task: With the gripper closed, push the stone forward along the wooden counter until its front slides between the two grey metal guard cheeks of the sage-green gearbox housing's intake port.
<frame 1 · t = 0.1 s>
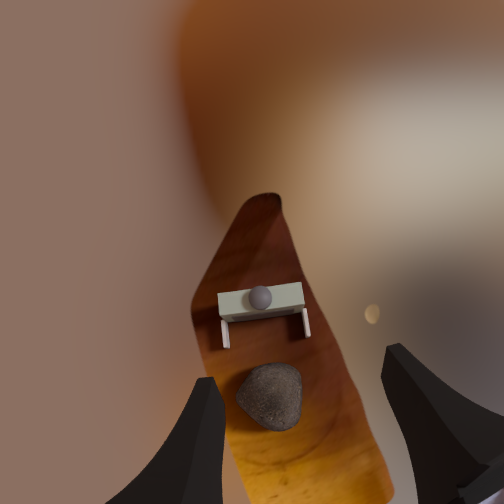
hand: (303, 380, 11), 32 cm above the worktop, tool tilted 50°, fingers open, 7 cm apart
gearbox: (266, 330, 43), on the worktop
stone: (274, 395, 40), on the worktop
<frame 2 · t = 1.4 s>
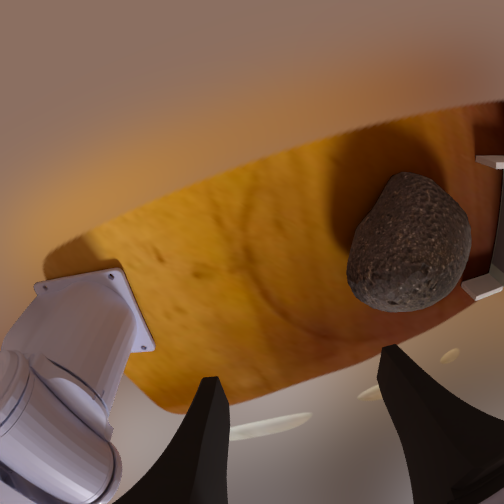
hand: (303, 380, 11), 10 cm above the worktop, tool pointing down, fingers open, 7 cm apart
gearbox: (485, 223, 20), on the worktop
stone: (396, 237, 21), on the worktop
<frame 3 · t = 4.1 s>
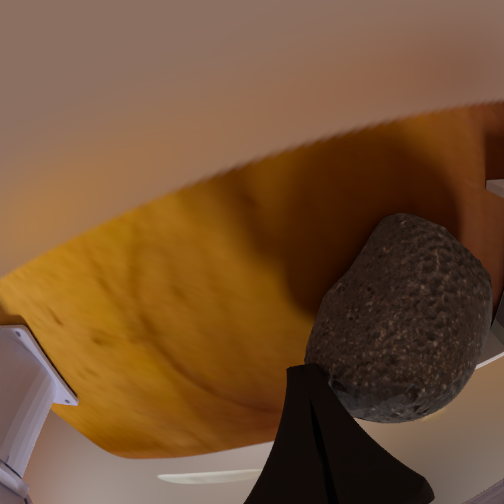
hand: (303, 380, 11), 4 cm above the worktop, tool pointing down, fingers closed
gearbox: (492, 272, 14), on the worktop
stone: (386, 299, 15), on the worktop, touching gripper
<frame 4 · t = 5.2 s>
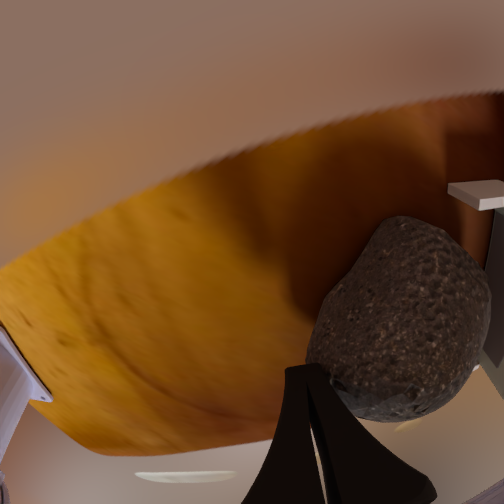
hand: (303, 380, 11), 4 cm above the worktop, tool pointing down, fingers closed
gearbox: (461, 282, 14), on the worktop
stone: (386, 300, 15), on the worktop
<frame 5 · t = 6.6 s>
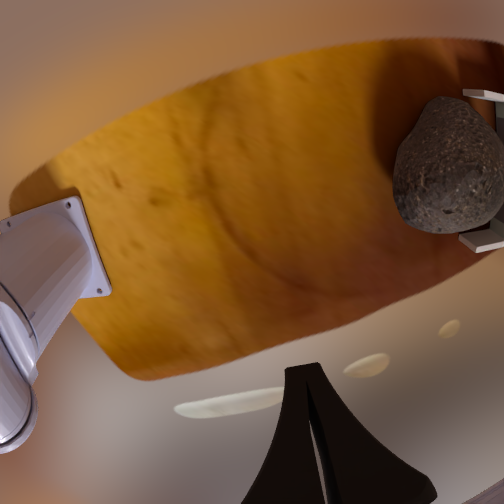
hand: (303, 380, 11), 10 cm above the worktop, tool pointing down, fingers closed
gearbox: (481, 167, 18), on the worktop
stone: (434, 168, 18), on the worktop
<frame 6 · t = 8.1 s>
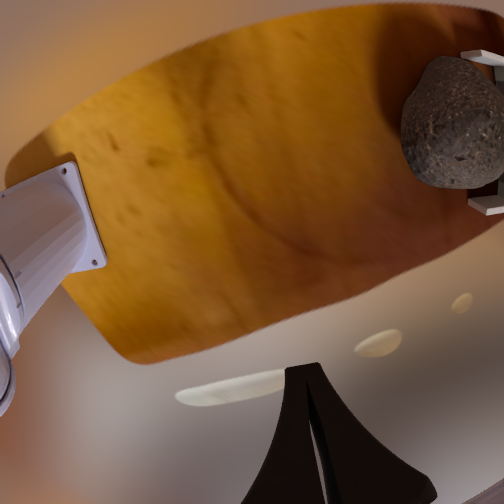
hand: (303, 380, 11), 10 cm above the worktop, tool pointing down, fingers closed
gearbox: (485, 129, 16), on the worktop
stone: (440, 128, 17), on the worktop
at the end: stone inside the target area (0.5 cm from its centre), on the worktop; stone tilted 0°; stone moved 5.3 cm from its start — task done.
